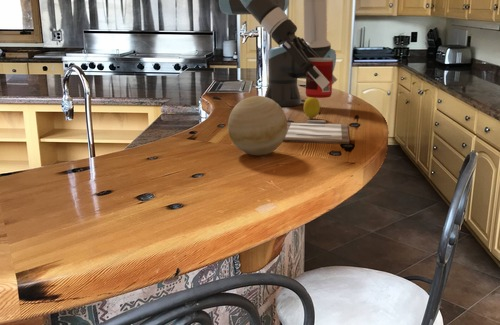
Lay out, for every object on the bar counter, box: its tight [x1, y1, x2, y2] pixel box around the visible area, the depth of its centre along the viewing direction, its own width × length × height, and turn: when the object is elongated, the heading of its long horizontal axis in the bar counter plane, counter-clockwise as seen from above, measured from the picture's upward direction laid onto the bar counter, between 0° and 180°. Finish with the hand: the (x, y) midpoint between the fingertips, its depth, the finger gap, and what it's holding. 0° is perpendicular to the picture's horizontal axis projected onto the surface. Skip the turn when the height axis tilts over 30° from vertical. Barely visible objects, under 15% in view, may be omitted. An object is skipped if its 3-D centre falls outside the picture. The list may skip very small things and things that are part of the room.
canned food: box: [305, 58, 334, 99], centre depth 154 cm, size 8×8×11 cm
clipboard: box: [282, 119, 350, 145], centre depth 159 cm, size 26×20×2 cm
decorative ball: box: [227, 95, 288, 156], centre depth 132 cm, size 15×15×15 cm
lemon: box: [303, 97, 321, 120], centre depth 180 cm, size 6×6×8 cm
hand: (330, 84), depth 153 cm, fingers closed on canned food, 8 cm apart
